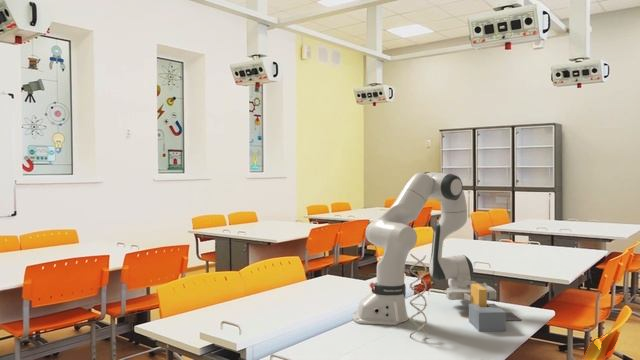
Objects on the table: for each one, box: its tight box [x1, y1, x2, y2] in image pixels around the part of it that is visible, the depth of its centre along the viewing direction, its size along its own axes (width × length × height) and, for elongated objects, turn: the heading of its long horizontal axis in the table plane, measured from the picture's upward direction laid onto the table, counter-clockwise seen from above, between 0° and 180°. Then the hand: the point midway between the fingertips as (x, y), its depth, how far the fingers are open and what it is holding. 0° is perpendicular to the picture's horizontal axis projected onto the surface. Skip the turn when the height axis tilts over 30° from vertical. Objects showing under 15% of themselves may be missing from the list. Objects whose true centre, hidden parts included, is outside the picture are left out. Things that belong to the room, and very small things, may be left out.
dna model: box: [408, 253, 428, 340], centre depth 185 cm, size 7×6×30 cm
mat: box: [506, 312, 522, 322], centre depth 209 cm, size 10×10×1 cm
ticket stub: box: [470, 284, 488, 307], centre depth 207 cm, size 3×10×12 cm, turn 2°
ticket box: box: [468, 303, 507, 332], centre depth 198 cm, size 10×12×7 cm
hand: (476, 298), depth 209 cm, fingers closed on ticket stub, 3 cm apart
